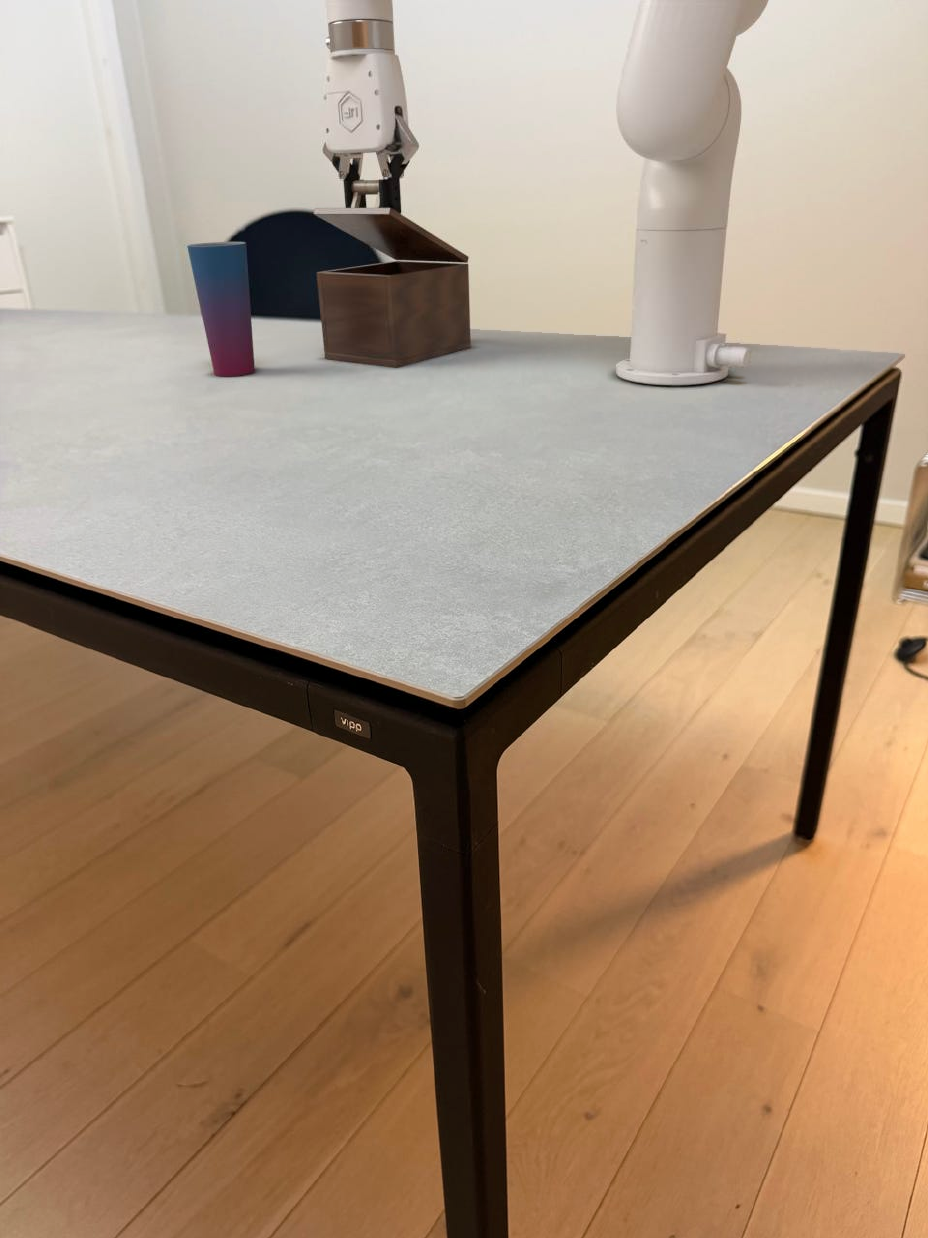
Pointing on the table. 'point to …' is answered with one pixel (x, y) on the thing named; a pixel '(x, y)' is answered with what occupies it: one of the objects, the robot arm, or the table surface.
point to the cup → (225, 304)
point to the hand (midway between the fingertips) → (373, 213)
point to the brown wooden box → (394, 312)
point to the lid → (388, 229)
